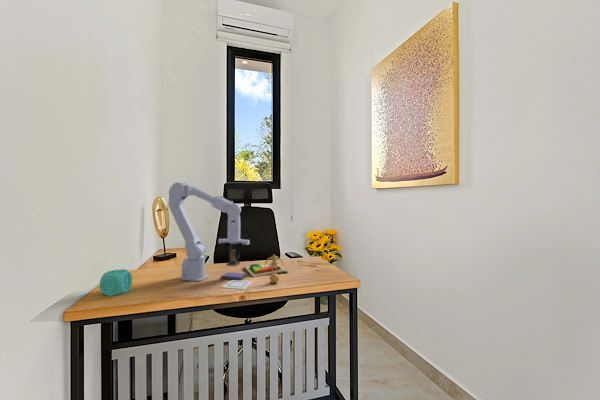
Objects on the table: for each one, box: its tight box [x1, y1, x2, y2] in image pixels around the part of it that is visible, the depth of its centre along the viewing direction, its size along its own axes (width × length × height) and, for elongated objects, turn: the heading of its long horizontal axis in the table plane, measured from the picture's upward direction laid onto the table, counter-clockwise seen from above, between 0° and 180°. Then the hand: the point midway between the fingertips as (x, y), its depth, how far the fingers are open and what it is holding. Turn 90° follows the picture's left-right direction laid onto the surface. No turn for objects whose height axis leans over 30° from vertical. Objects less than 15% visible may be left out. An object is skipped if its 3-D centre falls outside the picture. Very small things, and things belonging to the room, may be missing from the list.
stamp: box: [226, 249, 241, 267], centre depth 128 cm, size 4×4×6 cm
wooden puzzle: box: [243, 260, 289, 278], centre depth 142 cm, size 18×19×4 cm
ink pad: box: [219, 272, 248, 281], centre depth 129 cm, size 10×7×1 cm
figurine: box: [264, 254, 284, 284], centre depth 123 cm, size 8×6×12 cm
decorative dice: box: [99, 268, 133, 297], centre depth 109 cm, size 8×8×8 cm
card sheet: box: [221, 280, 254, 290], centre depth 119 cm, size 10×10×1 cm
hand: (233, 259), depth 129 cm, fingers closed on stamp, 3 cm apart
